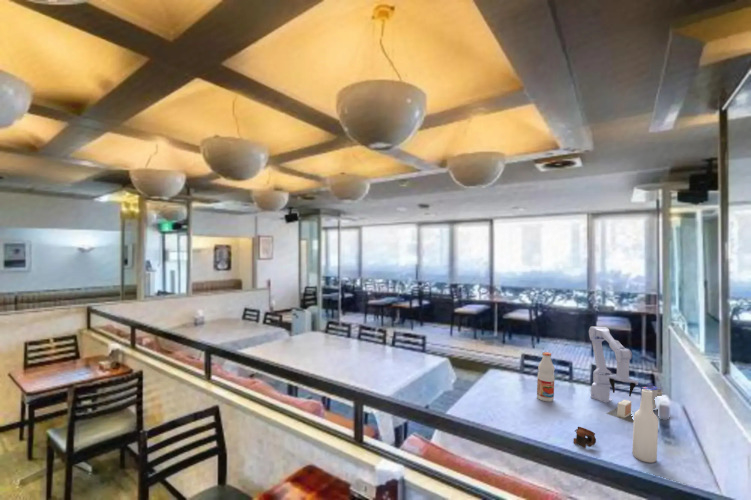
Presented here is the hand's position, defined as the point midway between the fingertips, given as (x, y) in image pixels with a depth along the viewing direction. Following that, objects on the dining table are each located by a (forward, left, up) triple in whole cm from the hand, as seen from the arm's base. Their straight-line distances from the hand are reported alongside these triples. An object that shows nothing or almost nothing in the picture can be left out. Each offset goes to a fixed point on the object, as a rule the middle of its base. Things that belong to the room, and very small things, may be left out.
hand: (621, 394), depth 214 cm
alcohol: (+26, -44, -11) cm, 52 cm away
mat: (+4, -2, -10) cm, 11 cm away
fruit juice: (-34, -19, -11) cm, 41 cm away
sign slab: (+3, -3, -10) cm, 11 cm away
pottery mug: (+6, -55, -11) cm, 56 cm away
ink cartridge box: (+8, +21, -11) cm, 24 cm away
